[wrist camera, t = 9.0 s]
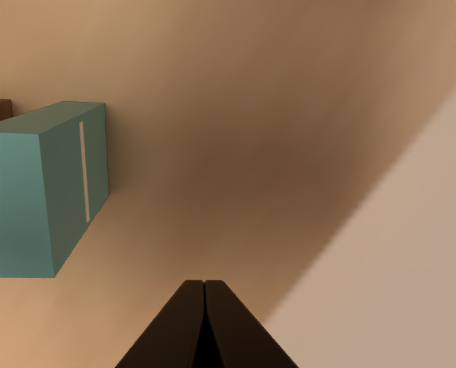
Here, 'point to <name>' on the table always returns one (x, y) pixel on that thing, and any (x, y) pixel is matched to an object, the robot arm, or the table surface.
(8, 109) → the domino
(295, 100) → the table surface
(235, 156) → the table surface
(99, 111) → the domino
